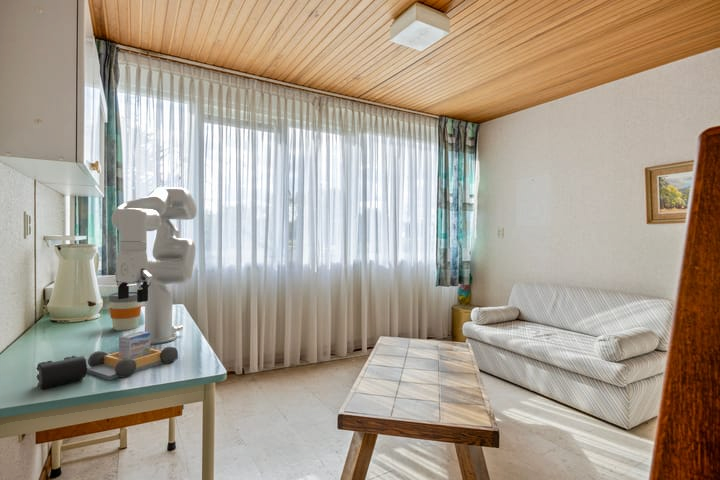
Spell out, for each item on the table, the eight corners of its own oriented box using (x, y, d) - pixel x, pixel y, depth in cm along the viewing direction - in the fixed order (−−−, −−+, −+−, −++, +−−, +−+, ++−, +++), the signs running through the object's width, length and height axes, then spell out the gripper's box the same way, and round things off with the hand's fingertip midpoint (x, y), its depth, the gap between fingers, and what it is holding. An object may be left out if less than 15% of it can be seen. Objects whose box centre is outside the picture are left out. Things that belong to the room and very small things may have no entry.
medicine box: (129, 366, 116) (129, 338, 116) (118, 364, 117) (118, 336, 117) (150, 358, 123) (151, 332, 123) (140, 356, 124) (140, 330, 124)
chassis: (151, 352, 134) (151, 337, 133) (181, 359, 126) (181, 344, 126) (82, 371, 114) (82, 354, 114) (113, 381, 107) (113, 364, 107)
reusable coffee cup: (111, 332, 158) (111, 297, 158) (105, 327, 167) (106, 293, 167) (144, 328, 166) (145, 294, 166) (138, 322, 176) (138, 290, 176)
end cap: (42, 393, 98) (42, 367, 98) (34, 386, 103) (34, 361, 103) (87, 381, 106) (87, 358, 106) (78, 375, 111) (78, 352, 111)
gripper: (104, 246, 121) (104, 299, 122) (139, 248, 113) (138, 305, 114) (127, 245, 128) (127, 295, 128) (161, 247, 120) (161, 300, 121)
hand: (132, 300), depth 121 cm, fingers open, 9 cm apart
